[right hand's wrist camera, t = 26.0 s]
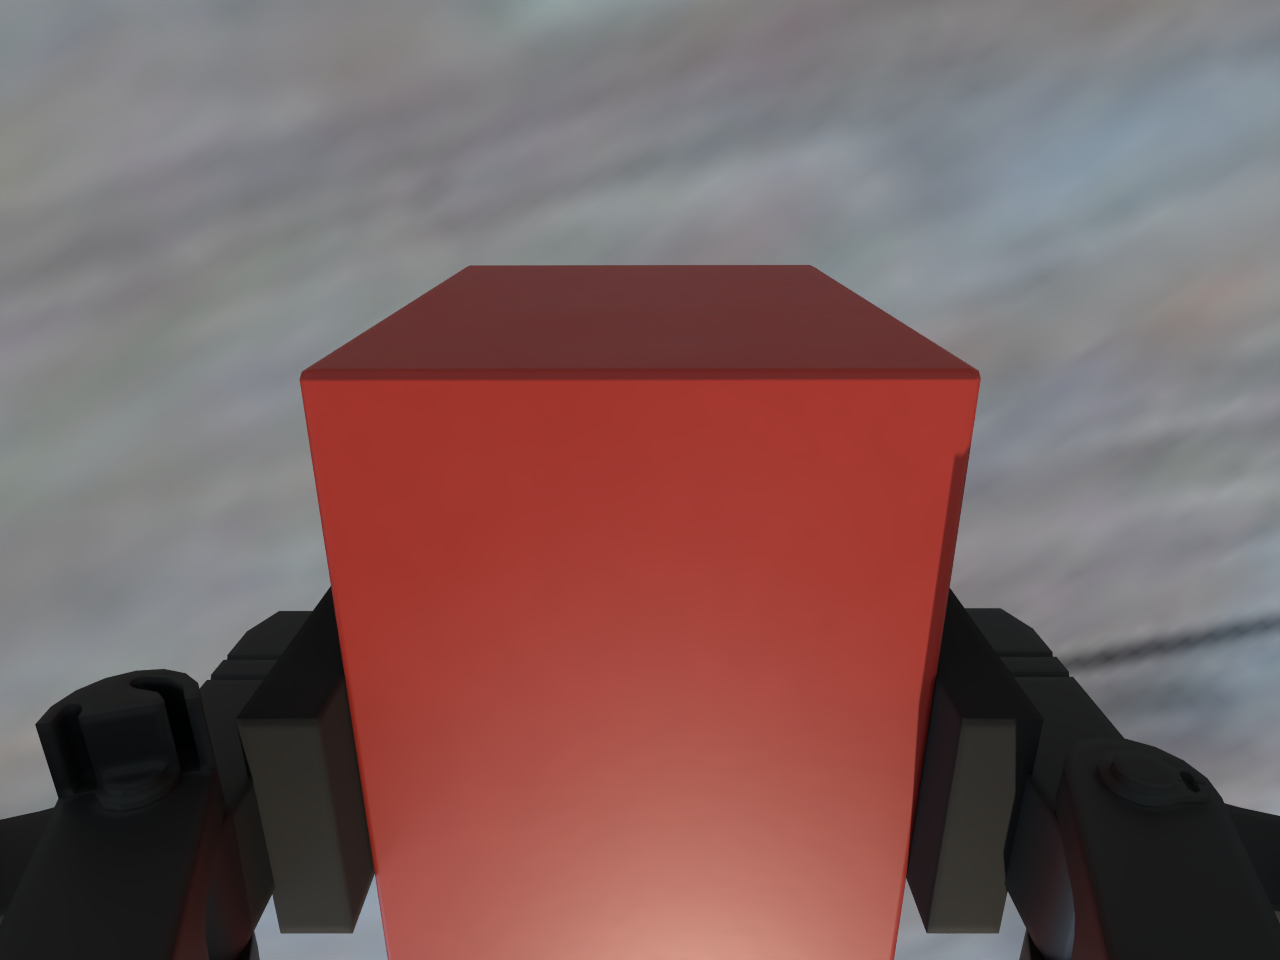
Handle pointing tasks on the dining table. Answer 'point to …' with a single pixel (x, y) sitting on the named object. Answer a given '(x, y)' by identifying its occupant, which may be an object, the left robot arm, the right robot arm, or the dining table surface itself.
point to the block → (640, 607)
